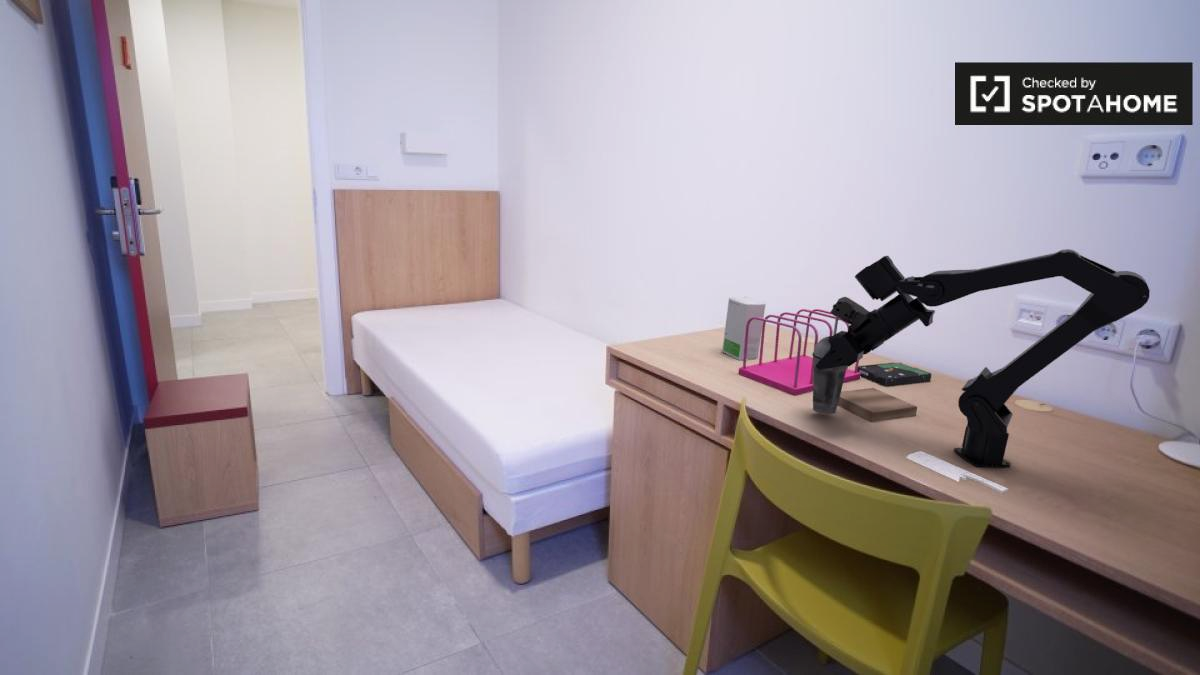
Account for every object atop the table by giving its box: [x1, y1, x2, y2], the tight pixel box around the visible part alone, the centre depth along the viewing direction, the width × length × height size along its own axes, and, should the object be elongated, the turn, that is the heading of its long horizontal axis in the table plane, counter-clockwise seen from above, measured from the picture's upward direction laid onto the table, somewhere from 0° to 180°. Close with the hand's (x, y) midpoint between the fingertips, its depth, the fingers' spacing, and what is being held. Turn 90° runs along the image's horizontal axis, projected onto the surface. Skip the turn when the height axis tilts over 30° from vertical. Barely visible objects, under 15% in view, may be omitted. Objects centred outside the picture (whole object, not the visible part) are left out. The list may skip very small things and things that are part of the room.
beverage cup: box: [812, 316, 849, 415], centre depth 122 cm, size 7×7×20 cm
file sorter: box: [738, 308, 861, 396], centre depth 148 cm, size 17×25×16 cm
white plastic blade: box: [905, 450, 1009, 494], centre depth 102 cm, size 5×15×1 cm, turn 28°
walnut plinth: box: [838, 387, 918, 423], centre depth 130 cm, size 12×12×2 cm
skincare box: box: [721, 296, 766, 361], centre depth 164 cm, size 8×7×16 cm
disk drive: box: [857, 362, 933, 388], centre depth 152 cm, size 10×3×15 cm
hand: (823, 363), depth 123 cm, fingers closed on beverage cup, 7 cm apart
